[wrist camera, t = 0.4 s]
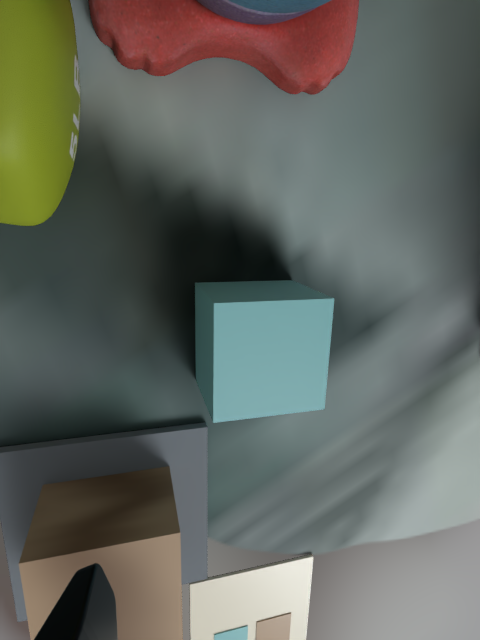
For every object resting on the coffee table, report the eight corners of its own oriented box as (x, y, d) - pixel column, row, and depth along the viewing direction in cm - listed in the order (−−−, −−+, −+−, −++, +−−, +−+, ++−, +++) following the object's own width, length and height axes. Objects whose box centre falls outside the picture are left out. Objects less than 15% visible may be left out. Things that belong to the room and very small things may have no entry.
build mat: (205, 422, 21) (207, 427, 20) (205, 571, 23) (207, 578, 23) (-8, 448, 18) (-11, 454, 18) (20, 612, 21) (17, 622, 20)
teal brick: (291, 279, 20) (334, 298, 16) (286, 370, 21) (324, 409, 17) (194, 282, 19) (213, 303, 15) (195, 378, 20) (213, 423, 16)
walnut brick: (169, 466, 20) (180, 532, 16) (172, 558, 22) (182, 640, 18) (42, 484, 19) (18, 563, 15) (55, 582, 20) (37, 679, 16)
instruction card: (312, 554, 25) (313, 557, 25) (301, 676, 28) (302, 680, 28) (189, 581, 23) (189, 585, 23) (191, 710, 26) (191, 715, 26)
